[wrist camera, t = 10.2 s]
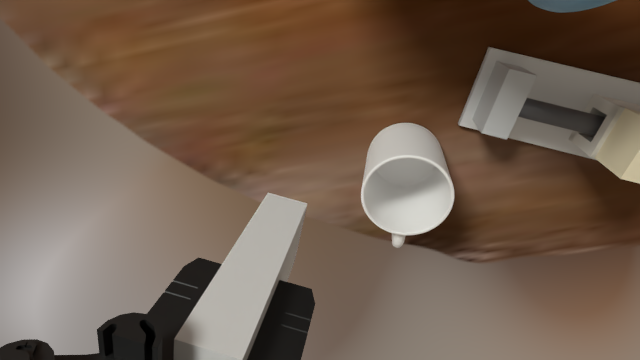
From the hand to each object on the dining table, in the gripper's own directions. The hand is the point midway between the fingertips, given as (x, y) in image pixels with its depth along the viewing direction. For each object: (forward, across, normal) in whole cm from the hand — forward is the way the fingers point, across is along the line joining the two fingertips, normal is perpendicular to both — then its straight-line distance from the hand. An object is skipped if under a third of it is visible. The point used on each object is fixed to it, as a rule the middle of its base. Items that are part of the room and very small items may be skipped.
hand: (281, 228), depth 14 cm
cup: (+30, +8, -9) cm, 32 cm away
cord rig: (+29, +22, +2) cm, 37 cm away
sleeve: (+27, +24, +2) cm, 36 cm away
